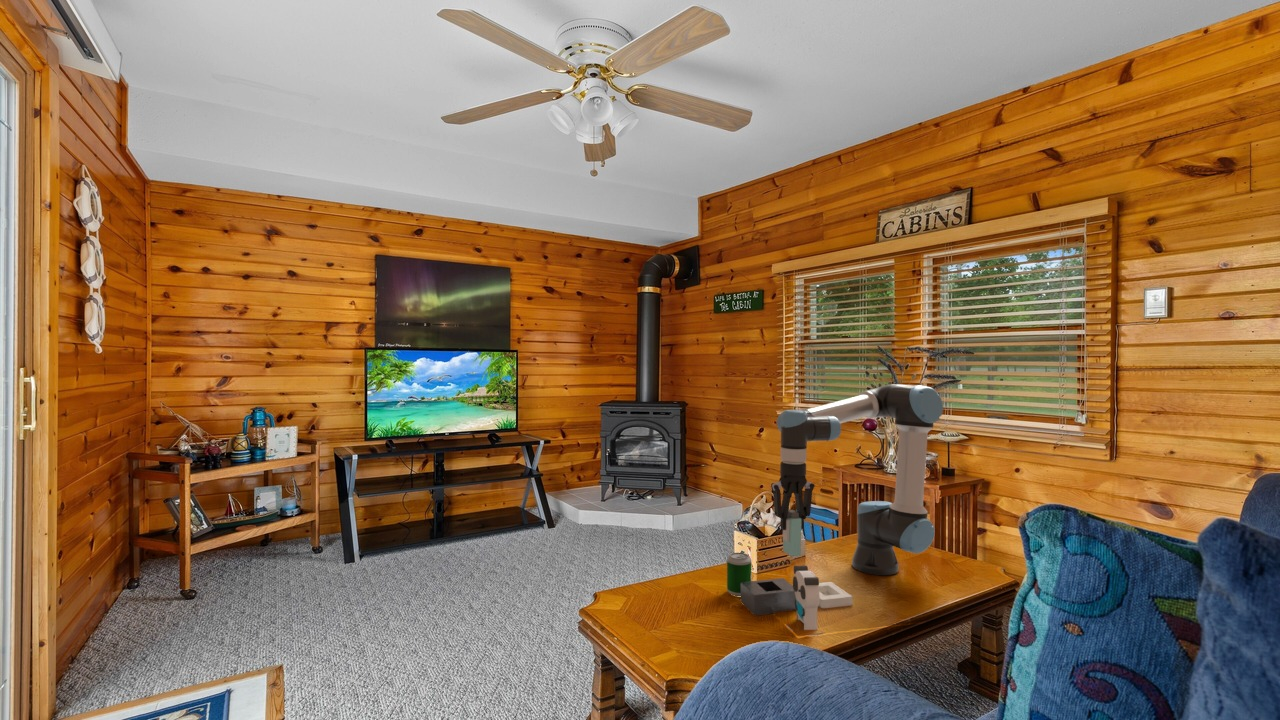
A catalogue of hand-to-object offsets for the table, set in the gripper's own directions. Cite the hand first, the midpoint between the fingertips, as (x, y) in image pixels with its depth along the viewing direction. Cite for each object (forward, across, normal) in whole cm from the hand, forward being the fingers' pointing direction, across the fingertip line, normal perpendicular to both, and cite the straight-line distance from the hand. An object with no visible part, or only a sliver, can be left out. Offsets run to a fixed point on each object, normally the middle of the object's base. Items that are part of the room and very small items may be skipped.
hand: (791, 539), depth 183 cm
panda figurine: (+20, +2, +14) cm, 24 cm away
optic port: (+20, +7, 0) cm, 21 cm away
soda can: (+20, +12, -11) cm, 26 cm away
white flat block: (+19, -12, 0) cm, 23 cm away
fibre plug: (+4, 0, 0) cm, 4 cm away
